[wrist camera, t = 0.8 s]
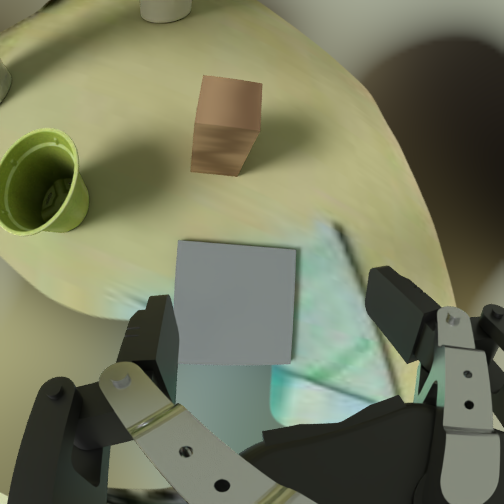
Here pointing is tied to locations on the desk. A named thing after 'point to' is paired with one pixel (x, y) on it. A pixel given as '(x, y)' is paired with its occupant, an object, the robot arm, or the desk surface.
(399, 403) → the robot arm
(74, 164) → the plant pot
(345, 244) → the desk surface
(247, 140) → the walnut block
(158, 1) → the travel mug
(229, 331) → the slate coaster
